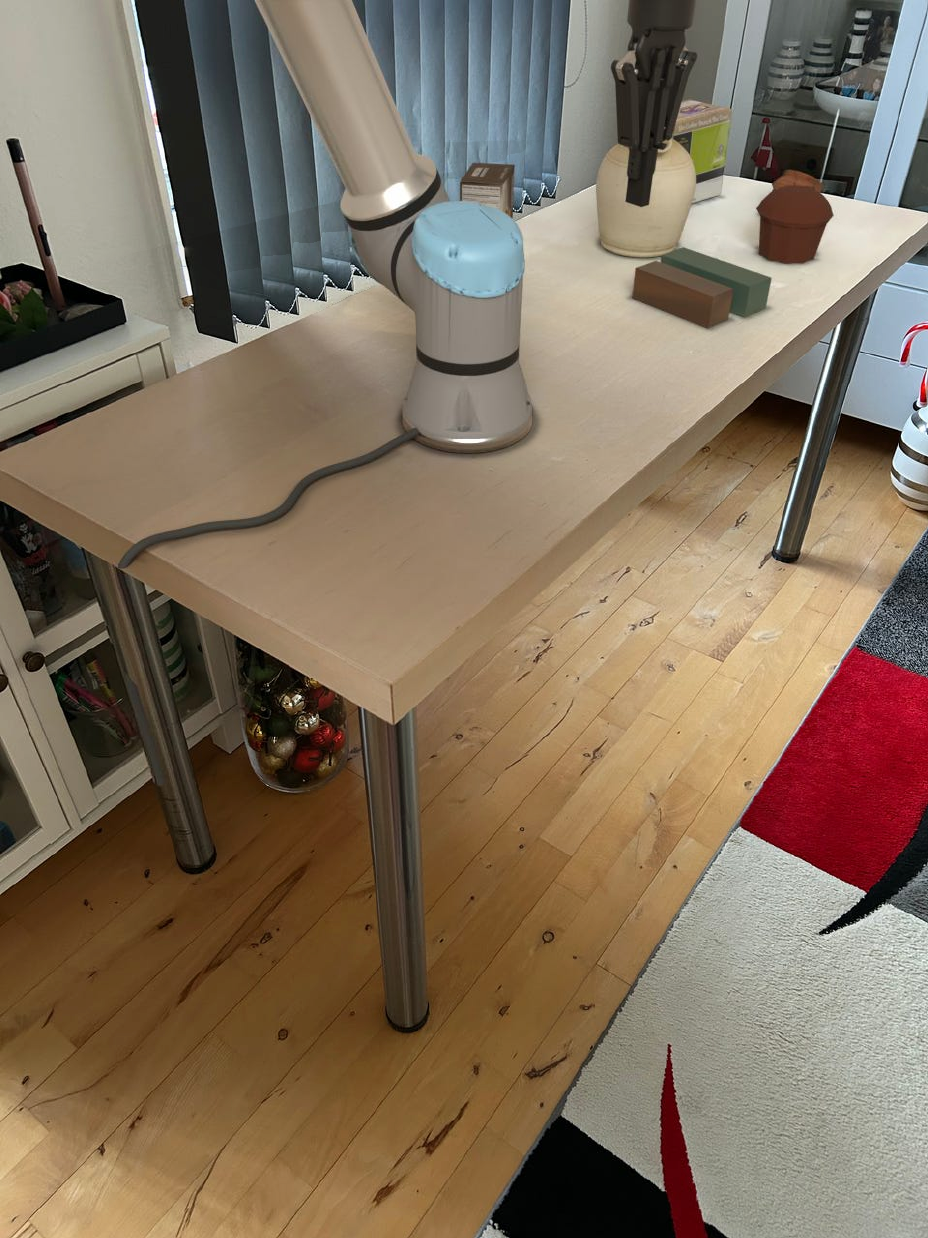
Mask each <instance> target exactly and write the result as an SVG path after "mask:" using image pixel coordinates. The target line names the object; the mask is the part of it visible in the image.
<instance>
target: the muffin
mask: <svg viewBox="0 0 928 1238" xmlns="http://www.w3.org/2000/svg"><path fill="white" fill-rule="evenodd" d="M755 209H756V212H757V213H758V215H759V237H758V255H759V256H761V257H764V258H765V259H766V260H767V261H772V262H777V263H781V264H785V265H786V264H787V265H788V264H804V263H807V262H809V261H813V260H814V259H815V257H816V254H817V252H818V248H819V246H820V243H821V241H822V239H823V235H824V233H825V230H826V227H827V224H828V223H829V222H830V221H831V219H832V218H833V217H834V212H833V208H832V205H831V203H830V201H829V200H828V199H827V197H825V195H824V194H823V193H822V192H821V193H820V192H818V191H817V190H815V189H813V188H810V187H805V186H798V185H794V186H785V187H781V188H779V189H776V190H774V191H772V190H771V192H768V194H767V195H766V196H764V198H762V200H761V201H760V202H759V203H758V205H757V206H756V207H755Z"/></svg>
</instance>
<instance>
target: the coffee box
mask: <svg viewBox="0 0 928 1238" xmlns="http://www.w3.org/2000/svg"><path fill="white" fill-rule="evenodd" d="M515 167H516V165H515V164H509V163H489V162H472V163H471V164H470V166H469V167H468V169H467V170H466V171H465V173H464V175H463V176H462V178H461V179H460V180H459V201H467V202H475V203H479V204H480V206H491V207H494V208H497V209H499V210H501V211H503V212H504V213H506V214H507V215H509V216H510V217H511V218H512V219H513V220H514V195H515V194H514V192H515V190H514V189H515Z"/></svg>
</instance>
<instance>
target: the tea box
mask: <svg viewBox="0 0 928 1238" xmlns="http://www.w3.org/2000/svg"><path fill="white" fill-rule="evenodd" d="M732 115H733V109H732V108H729V107H724V106H719V105H715V104H712V103H711V104H710V103H707V102H706V103H705V102H702V101H698V100H693V99H692V98H691V99H686V100H682V102H681V109H680V112H679V114H678V117H677V120H676V124H675V128H674V131H673V135H672V139H674V140H675V141H677V142H678V143H679V144H680V145H681V146H682V147H683V148H684V149H685V150H686V151H687V152H688V153H689V155H690V156H691V159H692V161H693V164H694V168H695V173H696V189H695V194H694V198H693V201H692V204H695V203H698V202H701V201H704V200H707V199H711V198H713V197H717V196H721V195H722V189H723V183H724V173H725V166H726V160H727V154H728V153H727V152H728V146H729V145H728V144H729V138H730V132H731V131H730V130H731V122H732Z"/></svg>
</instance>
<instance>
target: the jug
mask: <svg viewBox="0 0 928 1238" xmlns="http://www.w3.org/2000/svg"><path fill="white" fill-rule="evenodd" d="M680 109H681V106H680ZM680 109H679V112H680ZM678 114H679V113H678ZM664 129H665V127H664ZM662 143H665V144H667V146H666V148H665V149H664V150H660V149H658V154H657V161H656V169H655V172H654V175H653V179H652V186H651V194H650V201H649V205H647V206H644V207H639V206H636V205H633V204H630V203H627V202H625V200H626V192H627V183H628V177H627V168H628V159H629V148H628V147H624V146H623V145H620V144H619V143H618V142H617V143H616V144H615V145H614V146H613V147H612V148H611V149H609V150H608V152H607V153H606V155H605V156H604V158H603V160H602V162H601V164H600V166H599V169H598V172H597V177H596V183H595V199H596V211H597V212H596V213H597V226H598V233H599V237H600V244H601V246H602V248H604V249H605V250H607V251H609V252H611V253H612V254H616V255H618V256H623V257H626V258H627V257H629V258H657V257H662V255H663V254H665V253H668V252H671V251H674V250H676V247H677V245H678V243H679V241H680V238H681V236H682V234H683V232H684V228H685V226H686V224H687V219H688V217H689V214H690V211H691V207H692V204H693V203H692V201H693V198H694V194H695V189H696V173H695V168H694V164H693V161H692V159H691V156H690V155H689V153H688V152H687V151H686V150H685V149H684V148H683V147H682V146H681V145H680V144H679V143H678V142H677V141H675V140H674V139H672V138H671V139H670V140H669V141H667V140H665V141H664V142H662Z"/></svg>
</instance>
